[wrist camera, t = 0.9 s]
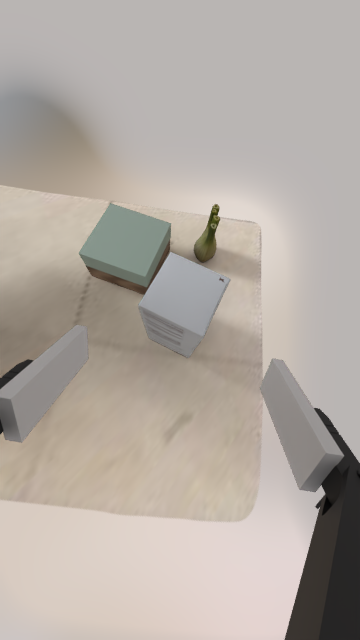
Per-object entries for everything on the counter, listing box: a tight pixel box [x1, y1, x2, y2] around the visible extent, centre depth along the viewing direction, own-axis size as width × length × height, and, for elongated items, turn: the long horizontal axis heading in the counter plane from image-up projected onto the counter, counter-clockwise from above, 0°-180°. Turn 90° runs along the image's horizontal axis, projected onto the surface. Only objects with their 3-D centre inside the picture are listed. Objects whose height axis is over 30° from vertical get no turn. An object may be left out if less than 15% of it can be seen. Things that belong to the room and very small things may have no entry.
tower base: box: [86, 240, 170, 295], centre depth 45 cm, size 13×13×4 cm
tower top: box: [79, 203, 171, 287], centre depth 41 cm, size 13×13×4 cm
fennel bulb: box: [194, 204, 220, 262], centre depth 43 cm, size 6×5×12 cm
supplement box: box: [138, 252, 230, 358], centre depth 34 cm, size 10×9×17 cm
